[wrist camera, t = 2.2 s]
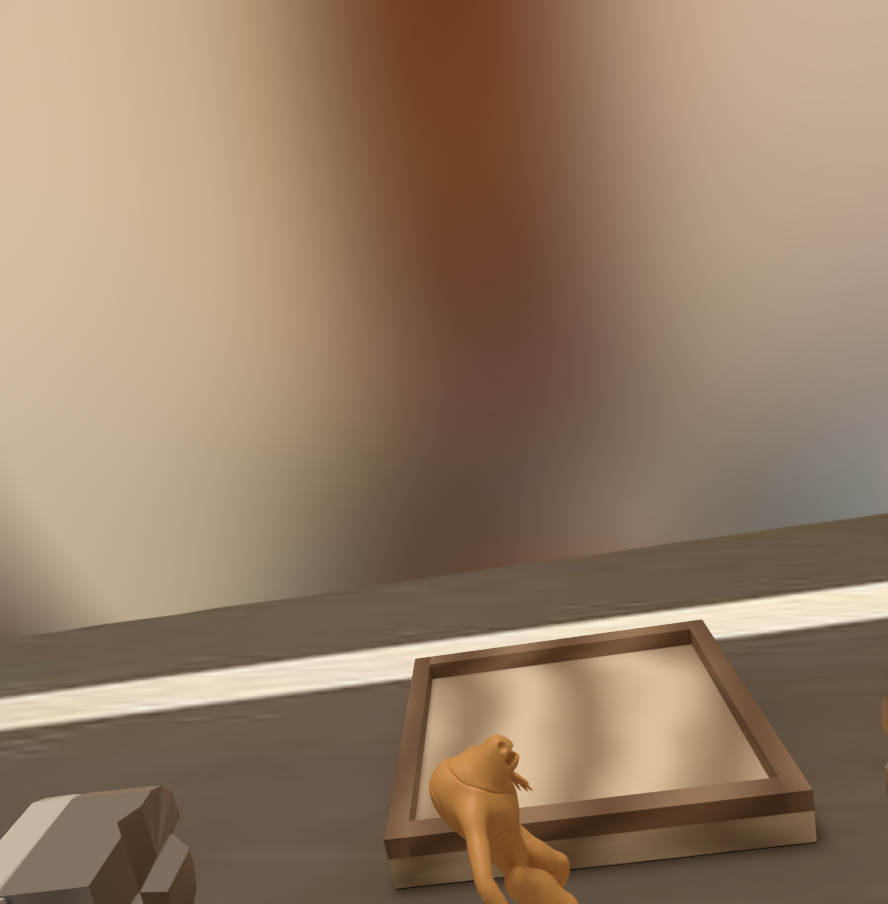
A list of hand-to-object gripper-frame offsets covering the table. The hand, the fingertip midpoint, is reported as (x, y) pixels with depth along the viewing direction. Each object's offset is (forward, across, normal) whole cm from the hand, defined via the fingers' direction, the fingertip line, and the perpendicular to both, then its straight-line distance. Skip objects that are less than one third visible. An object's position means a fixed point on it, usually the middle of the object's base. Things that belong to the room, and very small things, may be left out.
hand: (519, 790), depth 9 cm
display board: (+28, +1, -20) cm, 34 cm away
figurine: (+12, -1, -20) cm, 23 cm away
